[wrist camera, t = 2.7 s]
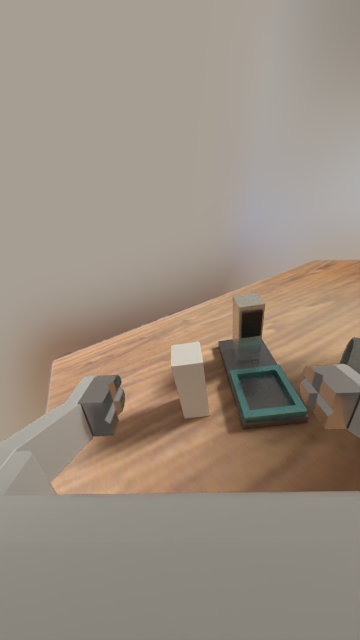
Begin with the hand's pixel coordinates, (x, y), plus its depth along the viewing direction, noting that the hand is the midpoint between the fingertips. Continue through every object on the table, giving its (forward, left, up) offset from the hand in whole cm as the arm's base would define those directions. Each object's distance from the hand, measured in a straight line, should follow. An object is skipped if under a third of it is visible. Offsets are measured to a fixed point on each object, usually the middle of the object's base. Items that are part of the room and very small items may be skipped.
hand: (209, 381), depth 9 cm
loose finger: (-10, -9, -22) cm, 26 cm away
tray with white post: (-20, -3, -22) cm, 30 cm away
